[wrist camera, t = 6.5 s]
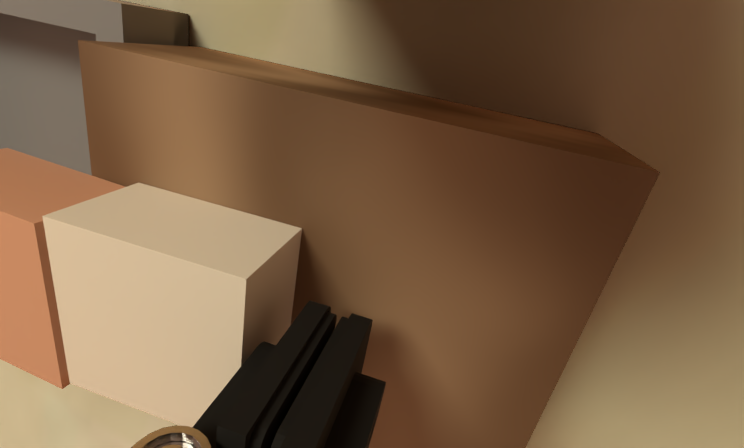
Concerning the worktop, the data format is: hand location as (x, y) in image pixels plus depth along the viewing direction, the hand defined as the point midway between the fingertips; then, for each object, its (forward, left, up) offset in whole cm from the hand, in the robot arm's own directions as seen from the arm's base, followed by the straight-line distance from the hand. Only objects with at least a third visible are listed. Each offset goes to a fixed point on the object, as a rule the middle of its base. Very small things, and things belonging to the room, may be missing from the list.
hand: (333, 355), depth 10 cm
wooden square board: (+1, 0, -6) cm, 6 cm away
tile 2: (+4, 0, -1) cm, 4 cm away
